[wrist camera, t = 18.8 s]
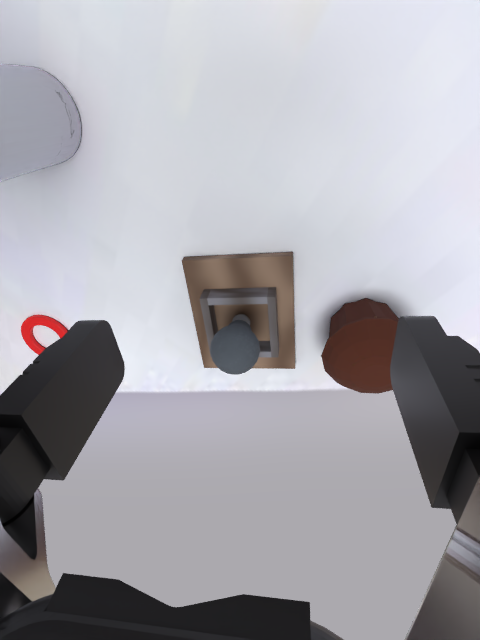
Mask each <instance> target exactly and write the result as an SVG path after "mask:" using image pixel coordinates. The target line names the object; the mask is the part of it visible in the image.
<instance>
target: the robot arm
mask: <svg viewBox="0 0 480 640" xmlns="http://www.w3.org/2000/svg"><path fill="white" fill-rule="evenodd" d="M80 139H81V122H80V117H79V113H78V110H77V108H76V105H75V103H74V101H73V99H72V98H71V96H70V94H69V93H68V91H67V90H66V89H65V88H64V86H63V85H62V84H61V83H60V82H59V81H58V80H57V79H56V78H54V77H53V76H52V75H50V74H49V73H47V72H45V71H44V70H41V69H39V68H36V67H30V66H20V65H9V64H0V182H1V181H4V180H8V179H11V178H14V177H17V176H20V175H23V174H26V173H30V172H33V171H36V170H39V169H43V168H46V167H49V166H52V165H55V164H58V163H61V162H64V161H66V160H68V159H69V158H71V157H72V156H73V155H74V153H75V152H76V151H77V149H78V146H79V144H80ZM123 377H124V361H123V358H122V355H121V353H120V350H119V347H118V345H117V342H116V339H115V337H114V334H113V331H112V328H111V326H110V324H109V323H108V322H107V321H105V320H88V321H78V322H76V323H75V324H74V325H73V326H72V327H71V328H70V330H69V331H68V332H67V333H66V334H65V335H64V336H63V337H62V338H61V339H59V340H58V341H56V342H55V343H53V344H52V345H50V346H48V347H47V348H45V349H44V350H43V351H42V353H41V354H40V355H39V356H38V357H37V358H36V359H35V360H34V361H33V364H30V365H29V366H28V367H27V368H26V369H25V370H24V371H23V375H20V376H19V377H18V378H17V379H16V380H15V381H14V382H13V383H12V384H11V385H10V386H9V387H8V388H7V389H6V390H5V391H4V392H3V393H2V394H1V395H0V640H343V639H342V638H340V637H339V636H337V635H336V634H334V633H333V632H331V631H330V630H328V629H327V628H325V627H323V626H321V625H318V624H316V623H314V622H312V621H310V603H309V602H304V601H295V600H287V599H278V598H270V597H261V596H253V595H244V594H243V595H238V596H233V597H228V598H224V599H218V600H214V601H208V602H203V603H198V604H194V605H189V606H184V607H177V608H176V607H171V606H168V605H166V604H164V603H162V602H160V601H158V600H156V599H155V598H153V597H151V596H149V595H147V594H145V593H143V592H141V591H139V590H137V589H135V588H133V587H131V586H129V585H128V584H125V583H124V582H122V581H120V580H116V579H108V578H99V577H90V576H83V575H74V574H66V573H63V575H62V577H61V579H60V581H59V583H58V585H57V587H56V588H55V585H54V583H53V581H52V579H51V576H50V573H49V570H48V565H47V555H46V541H45V531H44V530H45V528H44V517H43V516H44V515H43V502H42V494H41V492H40V491H39V489H38V487H39V485H40V484H41V482H42V481H43V479H51V480H64V479H65V477H66V476H67V474H68V472H69V470H70V469H71V467H72V465H73V464H74V462H75V460H76V459H77V457H78V455H79V453H80V452H81V450H82V448H83V447H84V445H85V443H86V441H87V440H88V438H89V436H90V435H91V433H92V431H93V430H94V428H95V426H96V425H97V423H98V421H99V419H100V418H101V416H102V414H103V413H104V411H105V409H106V408H107V406H108V404H109V402H110V401H111V399H112V397H113V396H114V394H115V392H116V391H117V389H118V387H119V385H120V384H121V382H122V380H123ZM390 377H391V384H392V388H393V391H394V394H395V397H396V400H397V403H398V406H399V409H400V412H401V415H402V418H403V421H404V425H405V428H406V431H407V434H408V437H409V440H410V443H411V445H412V449H413V452H414V455H415V458H416V461H417V464H418V467H419V470H420V473H421V476H422V479H423V482H424V486H425V489H426V492H427V494H428V498H429V501H430V504H431V507H432V508H446V509H451V510H452V513H453V515H454V518H455V521H456V523H457V525H456V527H455V530H454V532H453V534H452V536H451V538H450V541H449V543H448V545H447V547H446V549H445V552H444V554H443V556H442V558H441V560H440V563H439V565H438V567H437V569H436V572H435V574H434V576H433V578H432V580H431V583H430V585H429V587H428V589H427V591H426V594H425V596H424V598H423V600H422V603H421V605H420V607H419V609H418V611H417V614H416V616H415V618H414V620H413V622H412V625H411V627H410V629H409V631H408V633H407V635H406V638H405V640H480V353H479V352H478V350H477V349H476V348H474V347H473V346H471V345H470V344H469V343H467V342H466V341H464V340H463V339H462V338H460V337H459V336H447V335H446V333H445V332H444V330H443V329H442V327H441V325H440V324H439V322H438V320H437V319H436V318H435V317H434V316H406V317H400V318H399V321H398V324H397V330H396V335H395V341H394V347H393V352H392V358H391V364H390Z"/></svg>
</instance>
